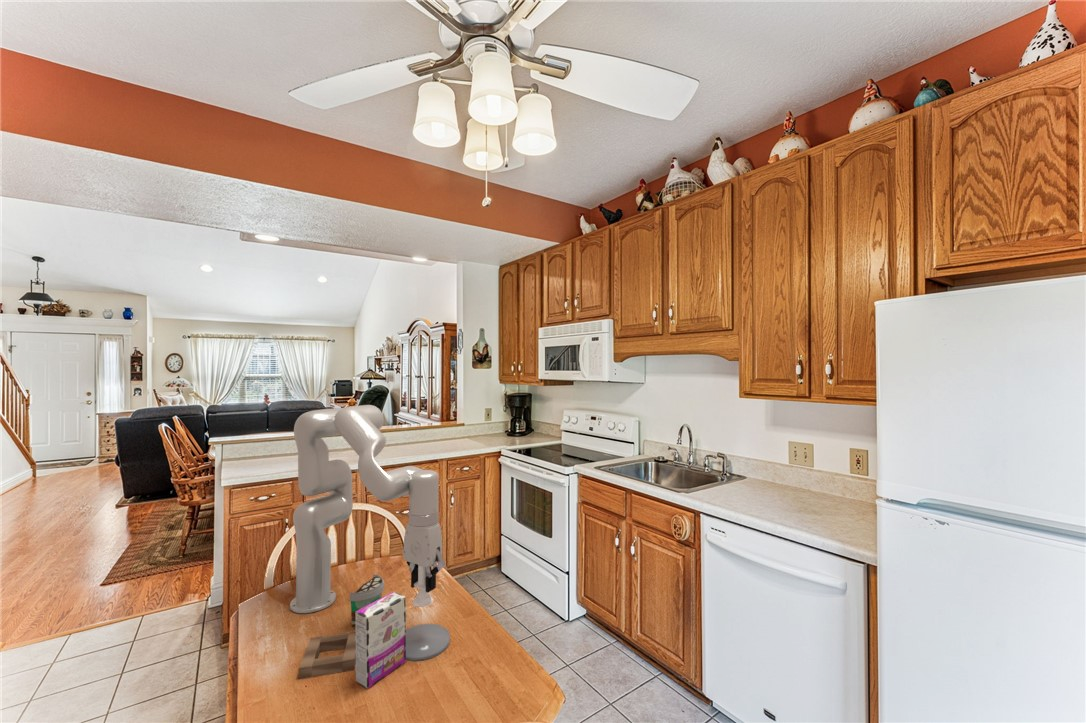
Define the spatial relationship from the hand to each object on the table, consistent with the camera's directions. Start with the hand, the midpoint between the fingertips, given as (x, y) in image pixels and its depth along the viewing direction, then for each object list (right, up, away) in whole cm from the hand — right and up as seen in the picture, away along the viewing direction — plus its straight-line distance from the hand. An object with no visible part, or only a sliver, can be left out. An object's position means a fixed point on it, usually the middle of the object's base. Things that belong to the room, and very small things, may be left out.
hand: (423, 587), depth 117 cm
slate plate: (0, -15, 0) cm, 15 cm away
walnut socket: (-21, -15, -6) cm, 27 cm away
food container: (-18, -15, +11) cm, 26 cm away
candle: (0, -4, 0) cm, 4 cm away
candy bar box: (-7, -15, -11) cm, 20 cm away
